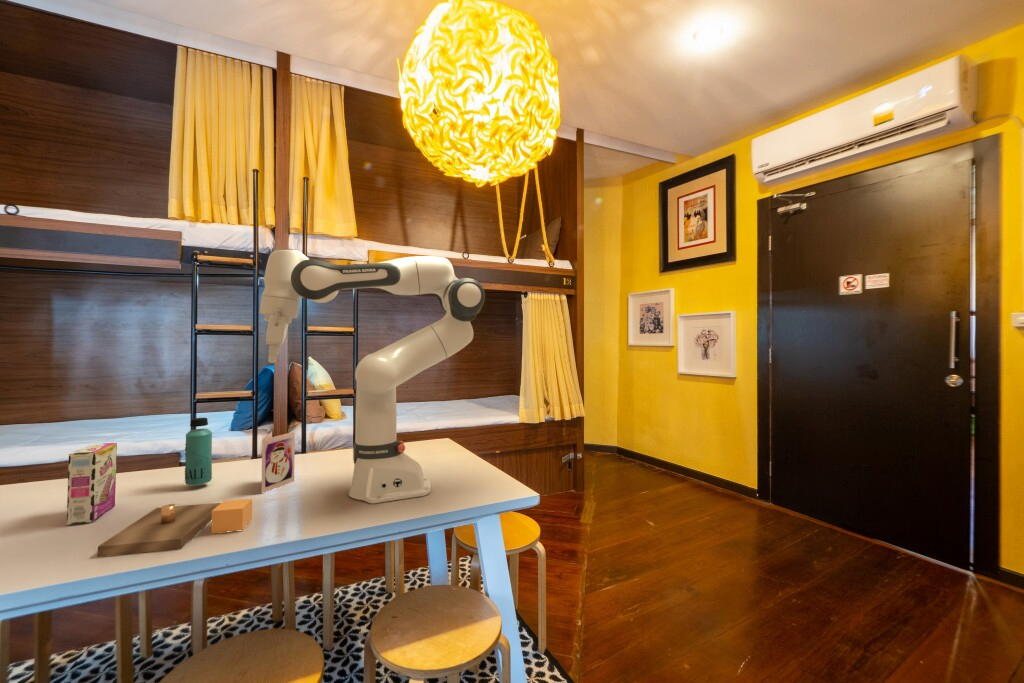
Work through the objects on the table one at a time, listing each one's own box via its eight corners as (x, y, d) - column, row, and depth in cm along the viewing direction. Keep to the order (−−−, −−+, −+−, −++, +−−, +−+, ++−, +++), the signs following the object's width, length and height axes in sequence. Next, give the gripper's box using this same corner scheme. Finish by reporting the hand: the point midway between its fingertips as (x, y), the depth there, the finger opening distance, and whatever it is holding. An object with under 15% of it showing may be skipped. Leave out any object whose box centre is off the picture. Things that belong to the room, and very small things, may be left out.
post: (177, 519, 94) (177, 503, 94) (171, 523, 92) (171, 507, 92) (164, 520, 94) (164, 504, 94) (158, 524, 91) (158, 508, 91)
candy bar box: (94, 523, 97) (95, 452, 97) (65, 526, 95) (66, 454, 95) (117, 505, 107) (118, 441, 107) (91, 508, 105) (92, 443, 105)
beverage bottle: (207, 481, 126) (208, 415, 126) (216, 486, 122) (216, 417, 122) (180, 487, 120) (181, 418, 120) (189, 492, 116) (189, 420, 117)
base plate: (222, 510, 104) (223, 502, 104) (181, 548, 85) (181, 538, 85) (156, 515, 101) (156, 507, 101) (97, 557, 81) (97, 546, 81)
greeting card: (264, 494, 116) (264, 440, 116) (243, 491, 118) (244, 438, 118) (296, 481, 126) (297, 431, 127) (277, 478, 129) (277, 430, 129)
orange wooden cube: (252, 520, 99) (252, 498, 99) (242, 531, 93) (242, 508, 93) (223, 522, 97) (223, 501, 97) (211, 534, 91) (211, 511, 91)
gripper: (293, 309, 103) (285, 365, 102) (292, 313, 121) (286, 360, 120) (263, 305, 100) (255, 362, 99) (267, 309, 118) (261, 358, 117)
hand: (272, 361), depth 110 cm, fingers open, 8 cm apart
